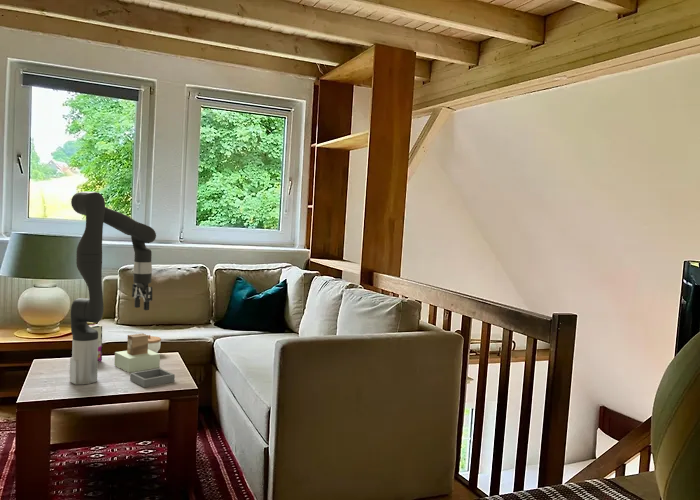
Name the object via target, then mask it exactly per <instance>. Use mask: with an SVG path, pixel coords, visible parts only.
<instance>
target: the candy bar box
mask: <svg viewBox="0 0 700 500" xmlns="http://www.w3.org/2000/svg"><path fill="white" fill-rule="evenodd" d="M88 325H89V326H90V327H91V328H93V329H95V330H97V331H98V362H102V361H103V325H102V324H98V323H97V324H96V323H95V324H88Z"/></svg>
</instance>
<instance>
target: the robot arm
mask: <svg viewBox="0 0 700 500" xmlns="http://www.w3.org/2000/svg"><path fill="white" fill-rule="evenodd" d="M70 205H71V208H72V209H73V210H74V211H75V213H77V214H79V215H82V216H85V227H84V232H83V234H82V236H81V237H80V239H79V242H78V244H77V247H76V254H75V256H76V259H75V260H76V262H75V263H76V268H77V270H78V272H79V273H80V275H81V278H82V279H83V280H84V282H85V284H86V287H87V289H88V296H89V297H88V298H87V297H79V298H75V299H74V300H73V301H72V304H71V305H70V306H71V307H70V330H71V334H72V348H71V350H72V351H71V354H72V355H71V357H69V358H70V359H69V382H70V383H71V384H73V385H75V386H77V385H90V384H94V383H96V382H97V381H98V331H97V330H95V329H93V328H91V327H90V326H89V325H90V324H88V323H98V322H100V321H101V320H102V318H103V315H104V310H105V309H104V295H103V280H102V279H103V273H102V271H103V270H102V269H103V229H104V224H106V225H107V226H110V227H112V228H113V229H116V230H117V231H118V232H120V233H122V234H124V235H127V236H130V238H131V243H132V247H133V251H134V263H133V275H132V277H133V283H132V288H131V297H132V298H133V299H134V308H140V307H141V298H142V299H143V310H144V311H149V310H150V302H151V301H153V286H149V284H151V283H152V280H153V279H152V278H153V277H152V274H153V273H152V271H153V268H152V267H153V266H152V253H153V252H152V250H151V249H150V248H148V247H147V245H146V244H151V243H153V242H154V241H155V240H156V238H157V232H156V231H155V229H154V228H153V227H151V226H149V225H147V224H144V223H142V222H139V221H137V220H135V219H134V218H132V217H130V216H129V215H127V214H124V213H122V212H119V211H117V210H114V209H111V208H108V207H107V206H106V201H105V198H104V195H102V194H101V193H100V192H99V191H98V192H97V191H79V192H76V193H74V195H72V198H71V203H70Z"/></svg>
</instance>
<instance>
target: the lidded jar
mask: <svg viewBox="0 0 700 500" xmlns="http://www.w3.org/2000/svg"><path fill="white" fill-rule="evenodd" d="M147 335H148V349H149V350H151V351H154V352H156V353H159V351H160V349H161V341H162V337H158V336H153V335H152V336H151V335H150V334H147Z"/></svg>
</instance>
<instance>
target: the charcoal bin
mask: <svg viewBox="0 0 700 500" xmlns="http://www.w3.org/2000/svg"><path fill="white" fill-rule="evenodd" d="M129 373H130V374H129V381H131V382H133V383H135V384H136V385H139V387H142V388H149V387H153V386H158V385H165V384H168V383H174V382H175V373H172V372H170V371H169V370H166V369H163V368H162V367H159V368H153V369H147V370H141V371H135V372H129Z"/></svg>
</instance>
